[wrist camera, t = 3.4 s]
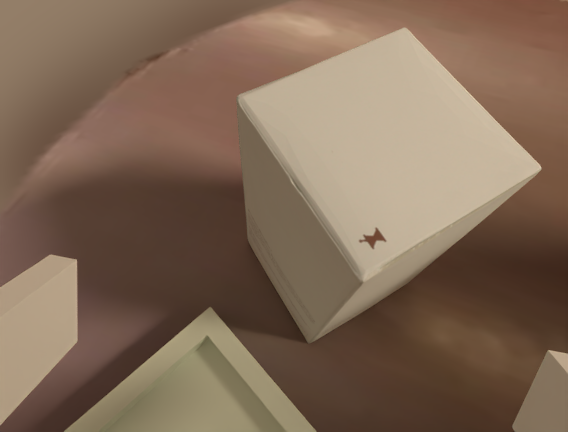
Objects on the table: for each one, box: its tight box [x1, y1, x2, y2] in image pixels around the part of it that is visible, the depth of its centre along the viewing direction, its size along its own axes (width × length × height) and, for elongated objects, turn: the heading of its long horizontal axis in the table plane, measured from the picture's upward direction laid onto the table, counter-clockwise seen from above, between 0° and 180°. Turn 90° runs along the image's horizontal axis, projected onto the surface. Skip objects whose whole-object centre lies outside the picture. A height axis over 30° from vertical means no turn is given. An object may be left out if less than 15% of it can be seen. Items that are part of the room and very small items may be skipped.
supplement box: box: [236, 28, 541, 343], centre depth 18 cm, size 7×7×13 cm
